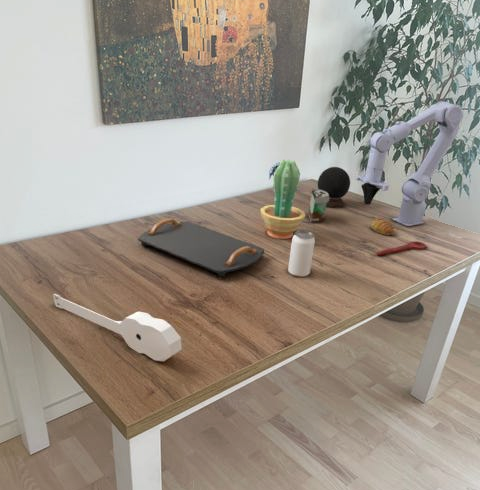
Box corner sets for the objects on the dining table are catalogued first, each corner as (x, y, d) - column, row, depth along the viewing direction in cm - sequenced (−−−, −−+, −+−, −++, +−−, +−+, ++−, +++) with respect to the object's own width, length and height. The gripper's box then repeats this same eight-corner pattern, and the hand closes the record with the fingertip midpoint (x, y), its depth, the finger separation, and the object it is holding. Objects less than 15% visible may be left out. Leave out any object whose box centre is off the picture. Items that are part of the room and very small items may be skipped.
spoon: (417, 242, 170) (418, 238, 169) (429, 248, 166) (430, 244, 165) (371, 253, 159) (372, 248, 158) (382, 259, 155) (383, 254, 154)
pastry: (398, 235, 175) (400, 225, 173) (383, 237, 172) (386, 227, 170) (381, 226, 182) (383, 216, 180) (367, 227, 179) (369, 218, 177)
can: (295, 278, 138) (301, 240, 132) (283, 269, 143) (288, 231, 137) (314, 275, 141) (320, 237, 135) (301, 266, 146) (307, 229, 140)
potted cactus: (291, 224, 176) (300, 155, 164) (309, 241, 164) (321, 167, 151) (251, 226, 171) (258, 155, 159) (267, 243, 159) (275, 167, 146)
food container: (327, 225, 179) (332, 199, 174) (311, 224, 178) (315, 197, 173) (323, 214, 189) (327, 189, 184) (308, 212, 189) (311, 187, 184)
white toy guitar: (70, 308, 120) (56, 314, 117) (65, 278, 116) (50, 284, 113) (184, 358, 100) (170, 367, 97) (182, 325, 96) (168, 333, 94)
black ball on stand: (349, 202, 205) (356, 166, 198) (342, 210, 194) (348, 173, 187) (319, 196, 209) (325, 161, 202) (310, 204, 199) (316, 168, 191)
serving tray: (272, 260, 148) (274, 241, 145) (226, 285, 131) (227, 264, 128) (180, 226, 167) (180, 209, 164) (129, 244, 150) (128, 225, 147)
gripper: (353, 163, 177) (346, 199, 184) (382, 173, 167) (373, 211, 174) (366, 162, 181) (359, 197, 187) (396, 172, 170) (387, 209, 177)
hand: (367, 204), depth 181 cm, fingers closed
